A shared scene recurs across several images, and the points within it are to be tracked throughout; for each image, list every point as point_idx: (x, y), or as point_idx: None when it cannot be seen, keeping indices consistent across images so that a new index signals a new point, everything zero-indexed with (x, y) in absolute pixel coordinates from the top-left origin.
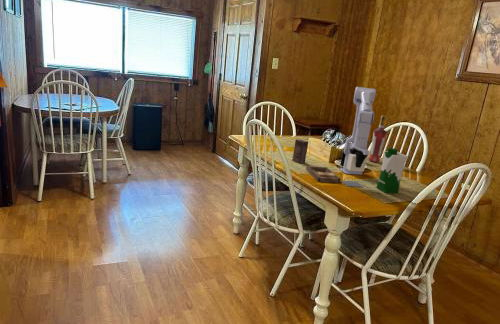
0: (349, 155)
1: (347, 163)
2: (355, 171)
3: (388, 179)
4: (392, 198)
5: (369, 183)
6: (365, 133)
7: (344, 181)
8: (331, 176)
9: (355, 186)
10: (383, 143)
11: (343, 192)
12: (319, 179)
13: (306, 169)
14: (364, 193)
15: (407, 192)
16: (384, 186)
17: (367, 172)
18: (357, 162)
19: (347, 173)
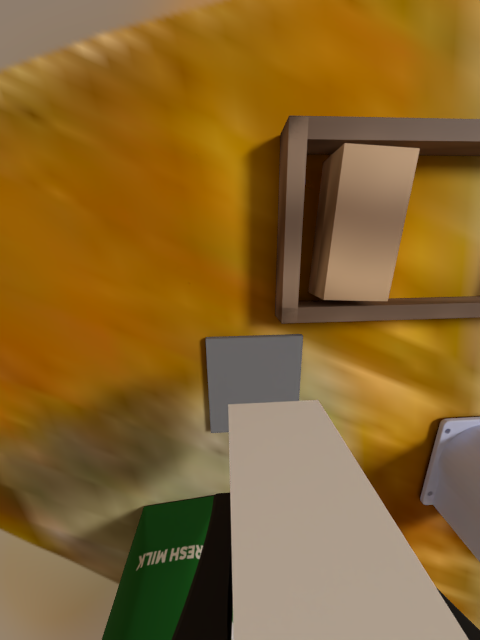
0: (403, 607)
1: (331, 440)
2: (447, 481)
3: (116, 614)
4: (74, 510)
5: None
6: None
7: (290, 352)
8: (324, 263)
9: (208, 388)
10: None
11: (78, 262)
12: (284, 136)
13: None
14: (106, 398)
15: None
16: (144, 538)
17: (455, 535)
18: (203, 574)
19: (439, 428)
